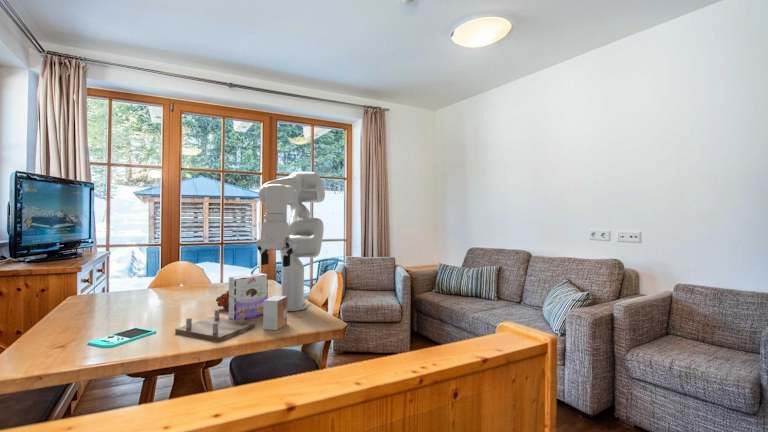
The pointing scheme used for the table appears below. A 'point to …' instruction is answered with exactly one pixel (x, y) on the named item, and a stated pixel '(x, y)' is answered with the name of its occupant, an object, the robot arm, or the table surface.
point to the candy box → (247, 295)
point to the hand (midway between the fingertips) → (275, 265)
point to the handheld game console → (122, 337)
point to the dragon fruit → (223, 300)
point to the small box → (275, 312)
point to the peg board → (222, 329)
